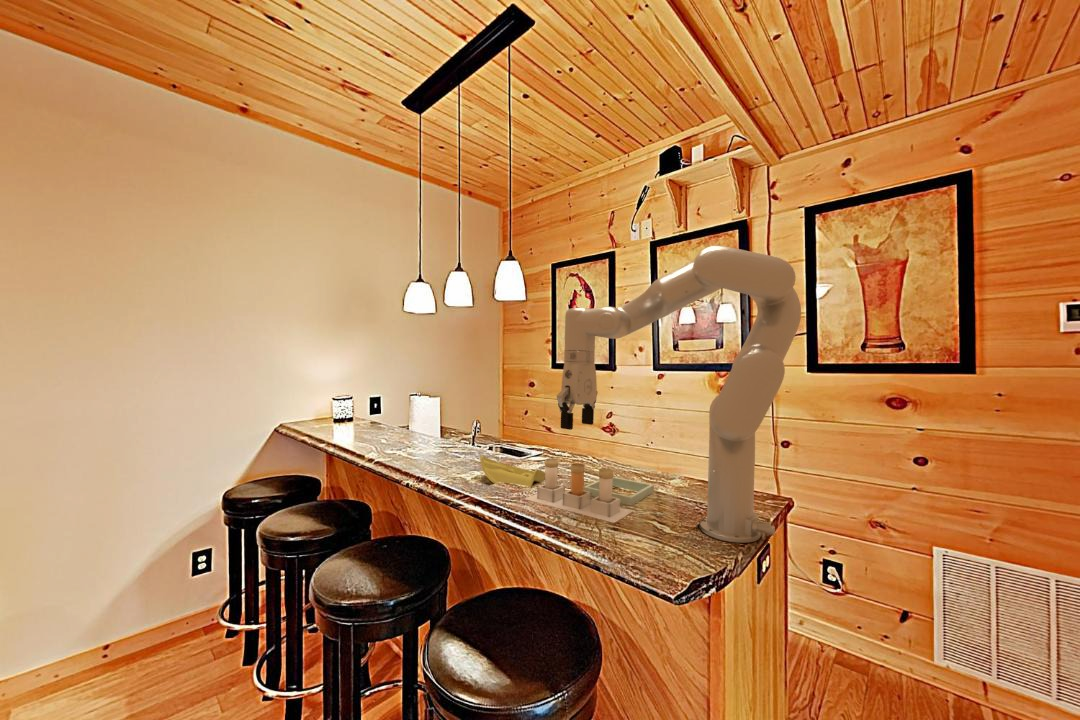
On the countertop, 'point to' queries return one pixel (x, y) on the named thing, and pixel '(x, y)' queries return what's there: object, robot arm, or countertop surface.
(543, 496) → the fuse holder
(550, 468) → the cylinder
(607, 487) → the cylinder
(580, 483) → the cylinder
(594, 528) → the countertop surface
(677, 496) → the countertop surface
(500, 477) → the plastic component
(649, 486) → the tray
